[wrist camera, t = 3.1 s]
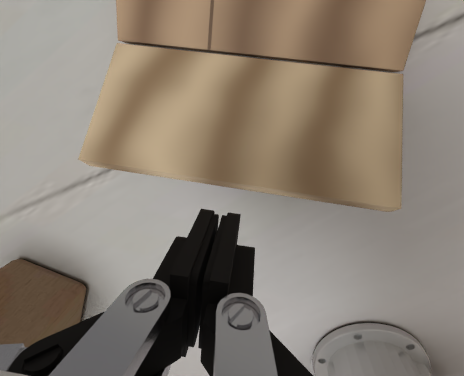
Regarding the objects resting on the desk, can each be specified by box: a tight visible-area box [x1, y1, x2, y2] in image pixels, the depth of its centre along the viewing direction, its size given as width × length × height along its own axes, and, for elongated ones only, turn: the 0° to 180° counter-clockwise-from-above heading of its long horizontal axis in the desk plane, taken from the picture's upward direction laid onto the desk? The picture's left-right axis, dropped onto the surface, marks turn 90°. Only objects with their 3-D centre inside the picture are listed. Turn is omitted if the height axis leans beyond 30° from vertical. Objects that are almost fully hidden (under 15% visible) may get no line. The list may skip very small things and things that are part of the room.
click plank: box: [79, 43, 403, 212], centre depth 19 cm, size 22×10×1 cm
